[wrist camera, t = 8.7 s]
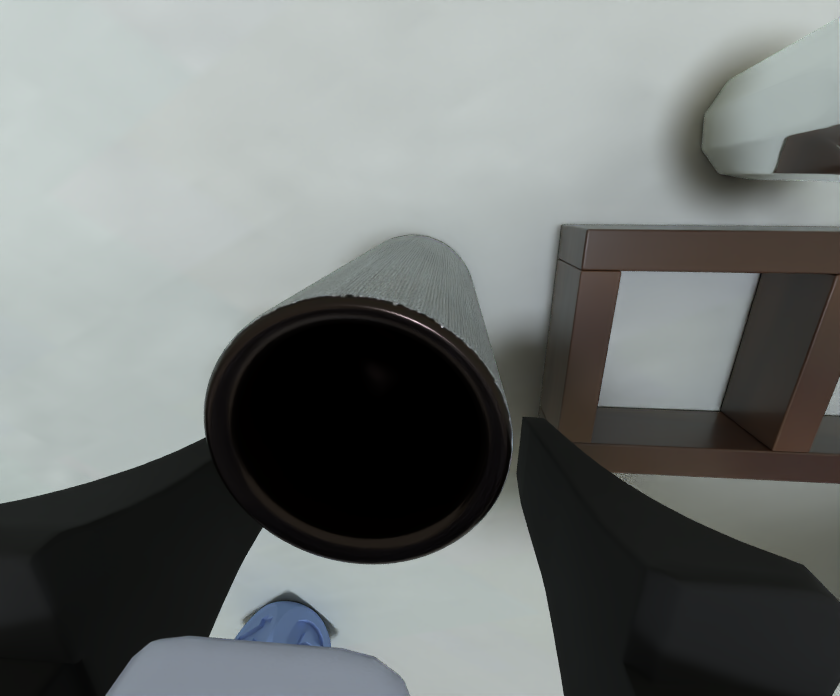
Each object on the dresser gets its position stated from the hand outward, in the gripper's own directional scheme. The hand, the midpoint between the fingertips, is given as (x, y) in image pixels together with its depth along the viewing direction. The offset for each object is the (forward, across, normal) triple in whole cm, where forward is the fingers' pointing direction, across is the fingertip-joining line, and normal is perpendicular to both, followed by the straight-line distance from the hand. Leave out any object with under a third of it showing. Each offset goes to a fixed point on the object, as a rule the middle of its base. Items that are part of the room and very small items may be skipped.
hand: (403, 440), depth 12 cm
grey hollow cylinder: (+5, 0, -4) cm, 6 cm away
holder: (+5, -13, -2) cm, 14 cm away
